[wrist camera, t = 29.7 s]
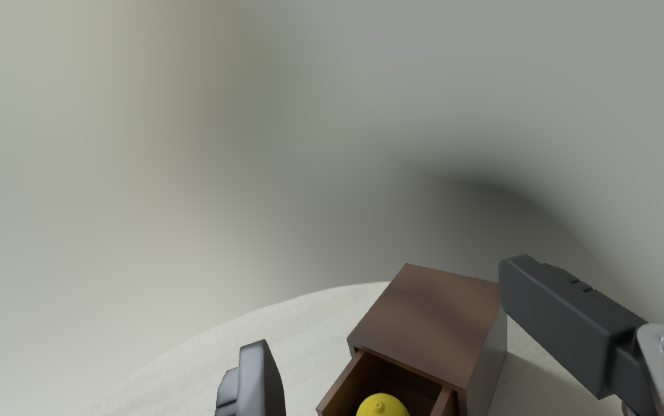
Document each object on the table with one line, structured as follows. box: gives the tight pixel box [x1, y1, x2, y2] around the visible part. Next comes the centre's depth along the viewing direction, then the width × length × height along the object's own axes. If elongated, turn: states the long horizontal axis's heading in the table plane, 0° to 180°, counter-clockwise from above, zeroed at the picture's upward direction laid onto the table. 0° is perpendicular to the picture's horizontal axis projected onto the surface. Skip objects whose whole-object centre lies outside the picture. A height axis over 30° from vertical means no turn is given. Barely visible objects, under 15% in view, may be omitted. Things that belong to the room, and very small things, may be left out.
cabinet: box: [347, 263, 507, 416], centre depth 39 cm, size 15×13×11 cm
